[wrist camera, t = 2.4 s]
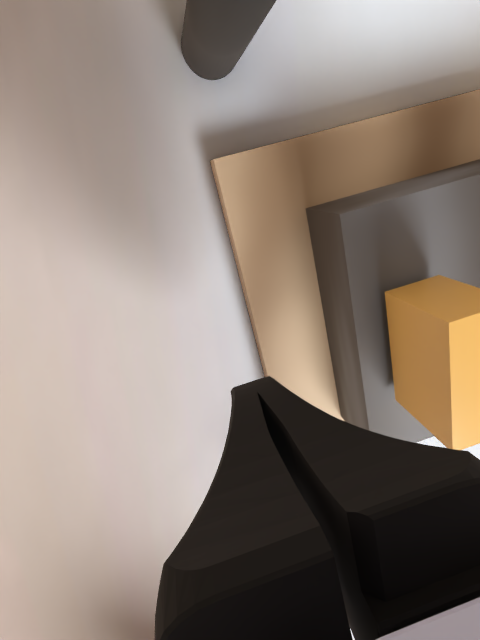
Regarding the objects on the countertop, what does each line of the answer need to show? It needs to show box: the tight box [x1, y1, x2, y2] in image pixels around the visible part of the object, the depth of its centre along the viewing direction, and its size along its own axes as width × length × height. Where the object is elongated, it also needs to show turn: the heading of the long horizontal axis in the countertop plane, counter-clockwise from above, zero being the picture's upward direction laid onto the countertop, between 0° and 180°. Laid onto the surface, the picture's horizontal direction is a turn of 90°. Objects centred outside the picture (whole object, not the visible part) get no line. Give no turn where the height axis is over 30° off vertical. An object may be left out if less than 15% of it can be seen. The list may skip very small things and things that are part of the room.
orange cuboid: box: [385, 275, 480, 450], centre depth 12 cm, size 2×4×3 cm, turn 14°
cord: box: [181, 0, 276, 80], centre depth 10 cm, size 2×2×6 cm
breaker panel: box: [210, 89, 480, 443], centre depth 16 cm, size 15×15×4 cm
